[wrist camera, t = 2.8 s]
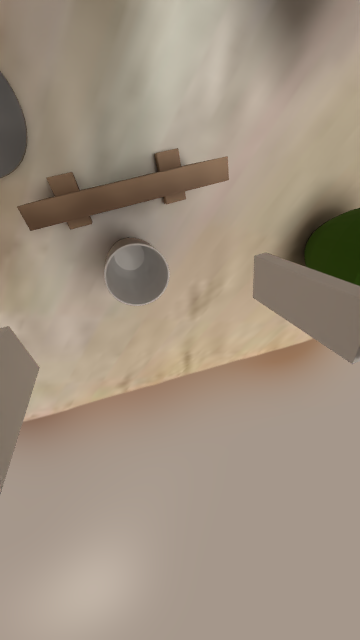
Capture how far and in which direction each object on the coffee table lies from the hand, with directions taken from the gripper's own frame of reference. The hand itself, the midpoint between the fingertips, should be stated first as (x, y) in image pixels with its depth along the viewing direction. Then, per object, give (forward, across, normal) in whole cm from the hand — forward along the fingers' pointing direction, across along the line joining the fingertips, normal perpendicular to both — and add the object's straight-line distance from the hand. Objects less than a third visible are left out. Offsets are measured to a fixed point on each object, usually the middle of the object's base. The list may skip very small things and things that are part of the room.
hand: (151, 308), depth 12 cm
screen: (+26, +3, +5) cm, 26 cm away
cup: (+26, +1, -4) cm, 26 cm away
